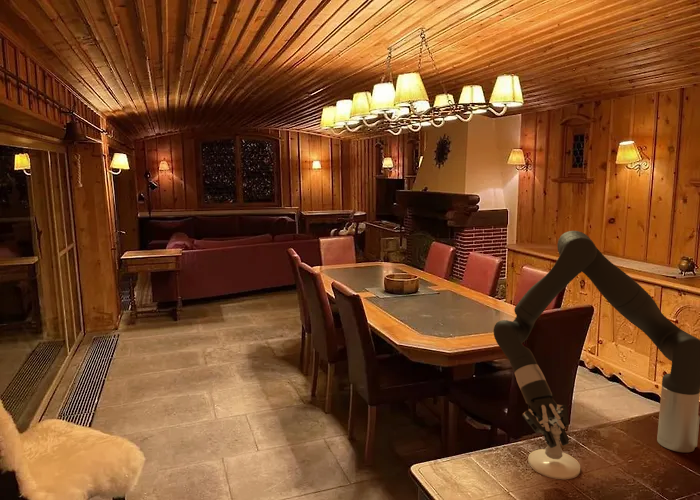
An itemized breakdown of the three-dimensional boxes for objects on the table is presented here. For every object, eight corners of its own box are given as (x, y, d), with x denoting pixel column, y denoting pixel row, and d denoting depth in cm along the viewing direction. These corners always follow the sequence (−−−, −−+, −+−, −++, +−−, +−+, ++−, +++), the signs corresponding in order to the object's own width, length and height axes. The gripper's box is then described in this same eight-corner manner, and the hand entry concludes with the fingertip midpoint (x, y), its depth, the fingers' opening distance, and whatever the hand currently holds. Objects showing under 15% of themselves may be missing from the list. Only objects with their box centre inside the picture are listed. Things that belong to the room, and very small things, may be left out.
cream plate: (557, 449, 144) (557, 446, 144) (591, 474, 132) (591, 470, 132) (518, 456, 141) (518, 453, 140) (550, 483, 128) (550, 479, 128)
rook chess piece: (564, 460, 134) (566, 432, 132) (546, 459, 134) (548, 430, 133) (560, 451, 138) (562, 424, 137) (543, 450, 139) (545, 422, 138)
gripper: (517, 381, 138) (545, 445, 129) (560, 375, 143) (589, 437, 133) (505, 392, 144) (530, 454, 134) (546, 386, 148) (573, 445, 139)
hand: (559, 445), depth 134 cm, fingers closed on rook chess piece, 3 cm apart
